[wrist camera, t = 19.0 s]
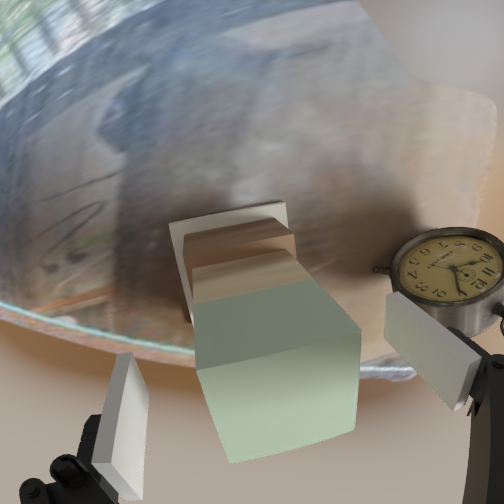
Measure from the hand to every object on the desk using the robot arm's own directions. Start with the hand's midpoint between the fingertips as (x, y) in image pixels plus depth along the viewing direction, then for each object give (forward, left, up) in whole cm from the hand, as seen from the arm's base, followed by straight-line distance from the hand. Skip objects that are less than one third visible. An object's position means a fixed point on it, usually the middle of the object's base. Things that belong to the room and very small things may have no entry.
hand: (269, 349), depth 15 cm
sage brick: (0, 0, -1) cm, 1 cm away
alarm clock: (+3, +17, -12) cm, 21 cm away
